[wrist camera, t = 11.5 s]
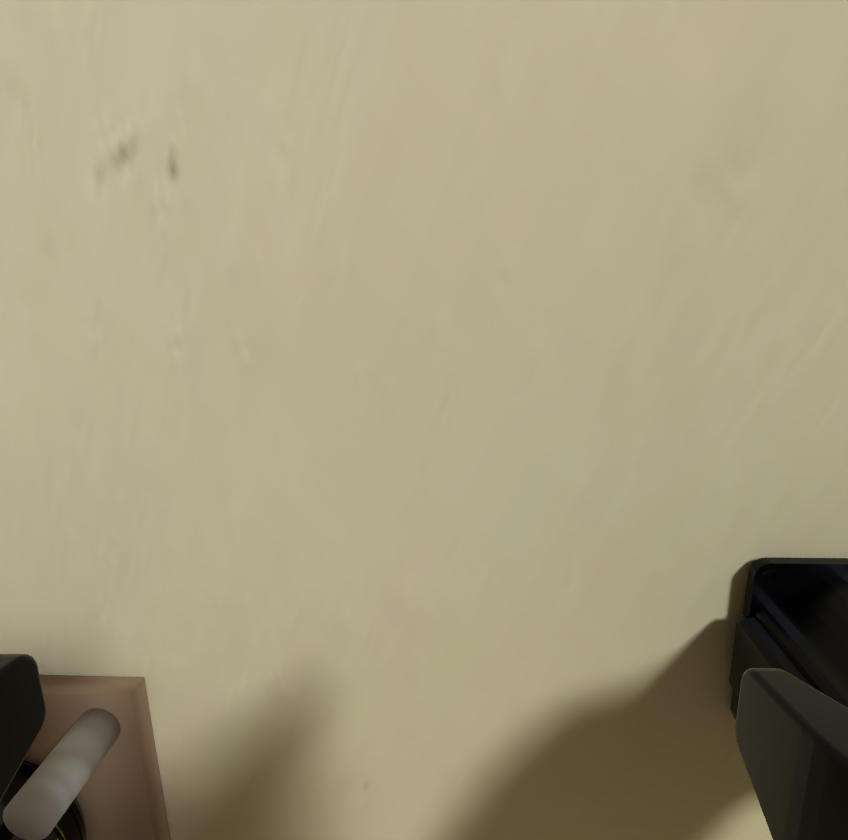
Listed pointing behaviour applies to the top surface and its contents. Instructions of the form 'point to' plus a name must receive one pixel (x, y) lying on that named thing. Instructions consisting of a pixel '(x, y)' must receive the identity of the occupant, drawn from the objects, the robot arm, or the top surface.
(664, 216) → the top surface
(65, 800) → the cradle
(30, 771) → the supplement container
